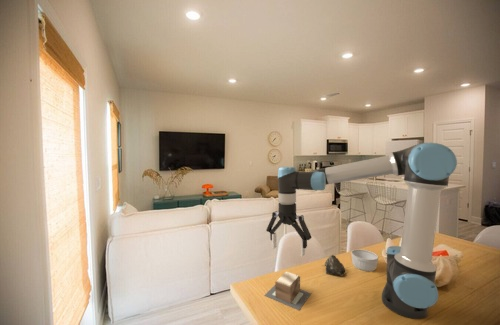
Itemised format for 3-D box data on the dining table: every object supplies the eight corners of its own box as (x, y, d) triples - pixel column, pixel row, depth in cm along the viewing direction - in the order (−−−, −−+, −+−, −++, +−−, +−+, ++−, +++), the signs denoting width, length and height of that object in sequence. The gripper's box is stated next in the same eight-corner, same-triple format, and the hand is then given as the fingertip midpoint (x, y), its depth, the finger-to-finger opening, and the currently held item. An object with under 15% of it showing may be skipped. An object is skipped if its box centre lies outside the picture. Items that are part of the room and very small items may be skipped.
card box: (290, 303, 90) (290, 286, 89) (275, 297, 94) (275, 280, 93) (300, 291, 98) (300, 275, 98) (285, 285, 102) (285, 270, 102)
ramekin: (380, 265, 121) (380, 253, 121) (375, 275, 111) (375, 262, 111) (355, 258, 130) (355, 247, 129) (347, 267, 120) (347, 254, 120)
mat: (311, 294, 96) (311, 292, 96) (299, 311, 86) (299, 309, 86) (278, 282, 106) (278, 281, 106) (264, 296, 95) (264, 295, 95)
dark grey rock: (348, 278, 108) (338, 259, 108) (330, 284, 110) (320, 266, 111) (344, 266, 118) (335, 250, 119) (328, 272, 120) (319, 256, 121)
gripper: (318, 204, 90) (319, 255, 91) (267, 198, 105) (267, 242, 105) (312, 207, 84) (313, 262, 85) (258, 201, 99) (259, 247, 99)
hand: (288, 251), depth 95 cm, fingers open, 13 cm apart
